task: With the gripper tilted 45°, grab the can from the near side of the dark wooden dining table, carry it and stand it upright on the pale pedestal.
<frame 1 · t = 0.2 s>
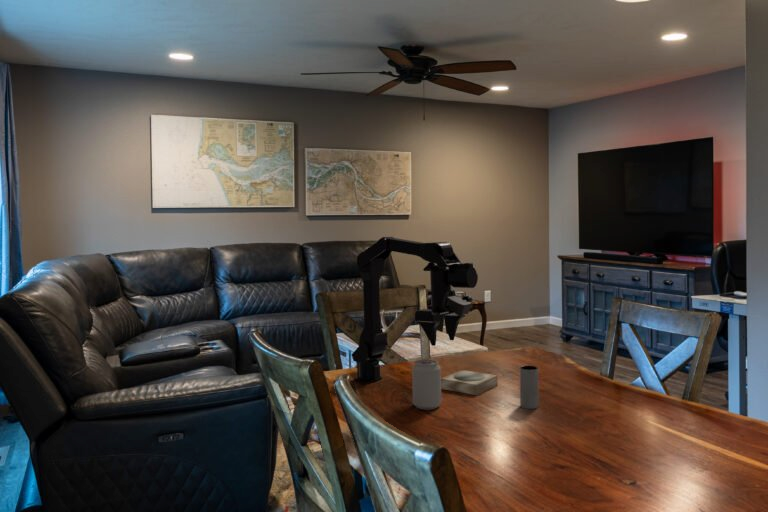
hand: (442, 342, 171), 15 cm above the table, tool pointing down, fingers open, 9 cm apart
pedestal: (469, 387, 179), on the table
grey cylinder: (529, 407, 160), on the table
can: (427, 406, 162), on the table
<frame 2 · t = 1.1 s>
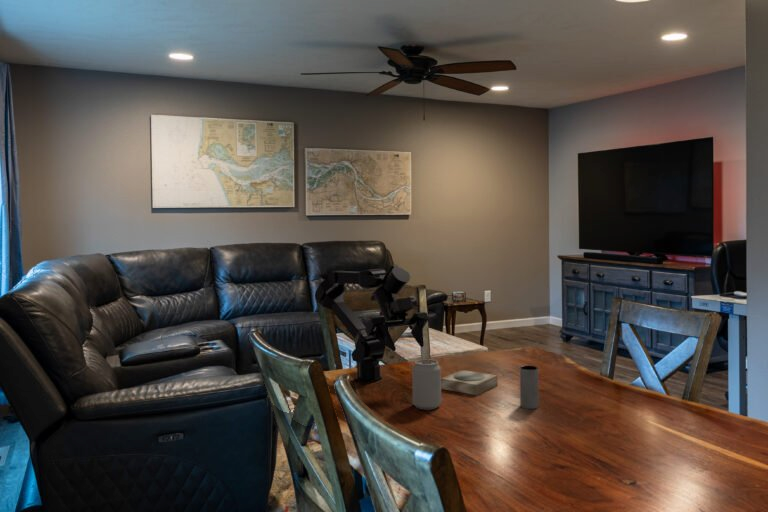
hand: (408, 348, 171), 13 cm above the table, tool tilted 45°, fingers open, 9 cm apart
nothing on the table moved.
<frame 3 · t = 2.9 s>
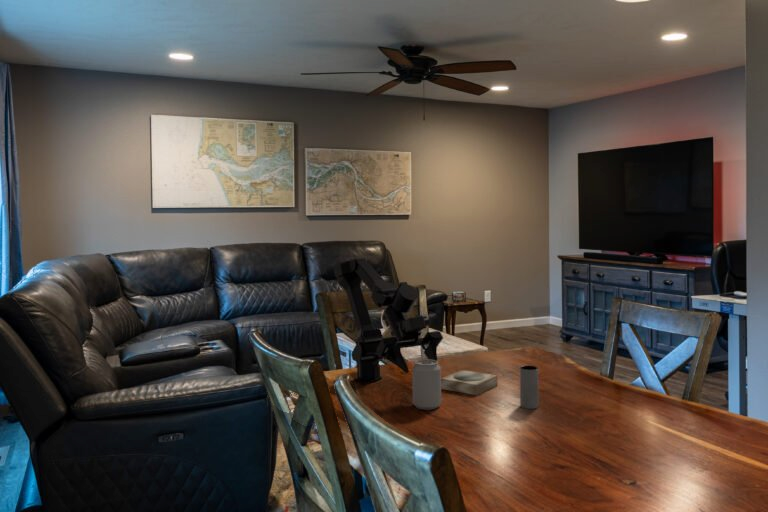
hand: (422, 369, 163), 9 cm above the table, tool tilted 45°, fingers open, 9 cm apart
nothing on the table moved.
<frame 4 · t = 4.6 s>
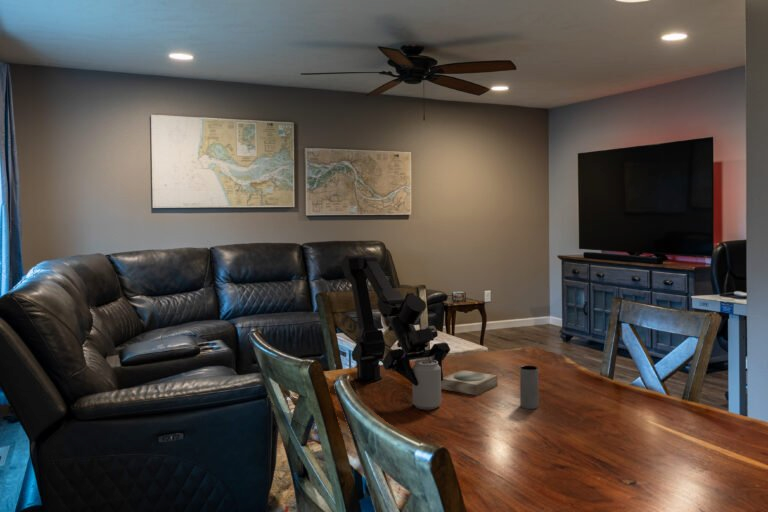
hand: (429, 382, 160), 7 cm above the table, tool tilted 45°, fingers closed on can, 7 cm apart
can: (427, 406, 162), on the table, touching gripper
everything else where it was.
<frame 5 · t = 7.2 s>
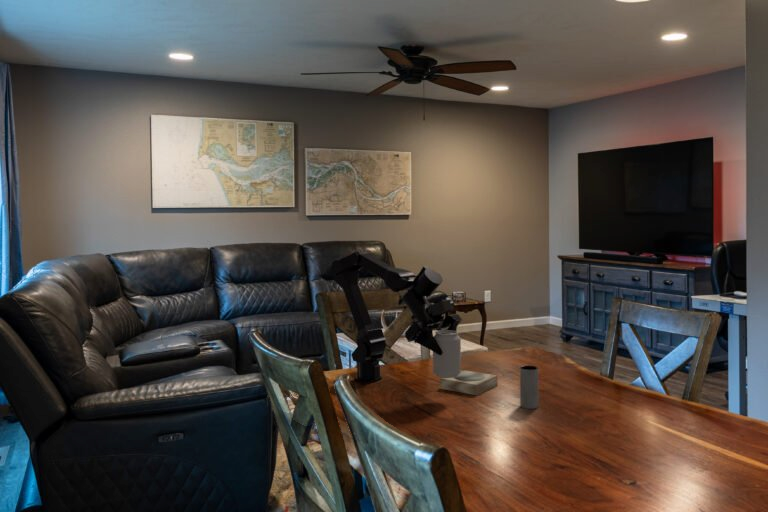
hand: (450, 351, 166), 13 cm above the table, tool tilted 45°, fingers closed on can, 7 cm apart
can: (446, 375, 167), point 6 cm above the table, touching gripper
everything else where it was.
when the fingers open (11 cm above the table, at t = 9.7 s): can stays where it is, resting on pedestal.
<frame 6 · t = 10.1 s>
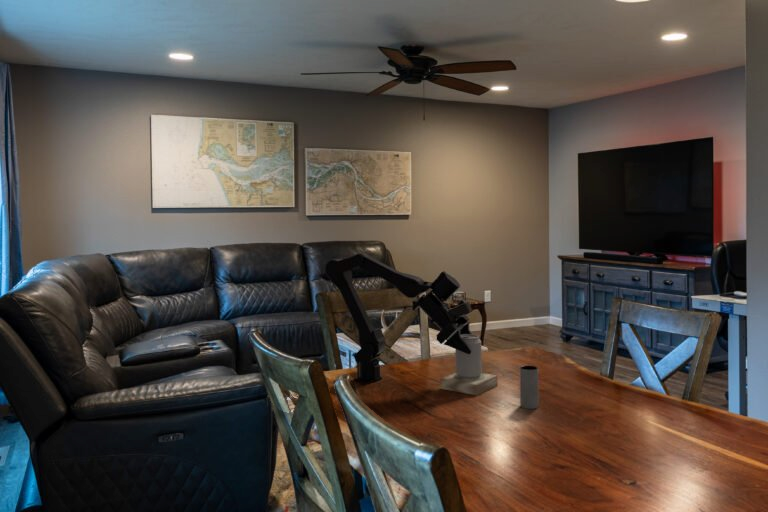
hand: (473, 349, 178), 11 cm above the table, tool tilted 45°, fingers open, 9 cm apart
can: (468, 376, 179), point 3 cm above the table, touching pedestal
everything else where it was.
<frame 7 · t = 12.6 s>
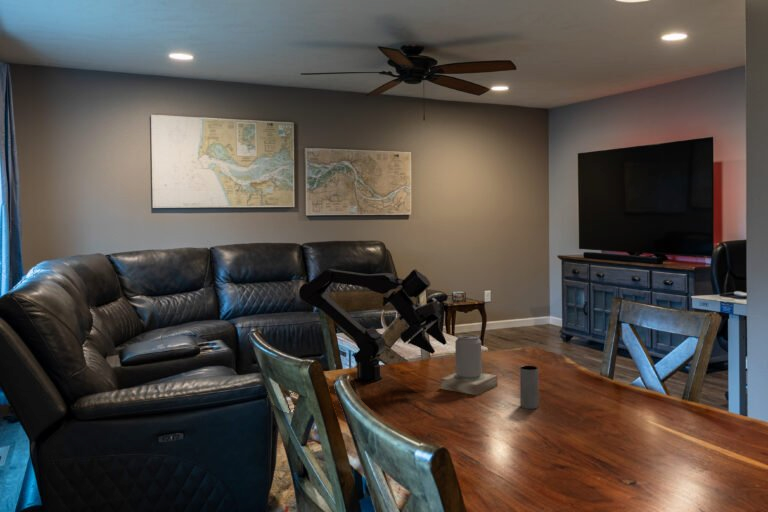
hand: (439, 348, 181), 11 cm above the table, tool tilted 40°, fingers open, 9 cm apart
nothing on the table moved.
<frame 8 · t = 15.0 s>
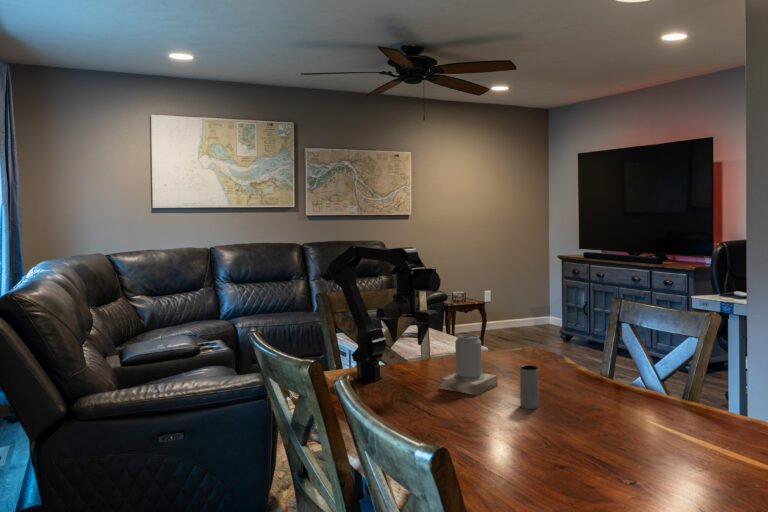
hand: (406, 343, 180), 13 cm above the table, tool pointing down, fingers open, 9 cm apart
nothing on the table moved.
at the end: can 0.1 cm off-centre on the pedestal, point 3.0 cm above the pedestal's base; can tilted 0°; the gripper is holding nothing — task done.
